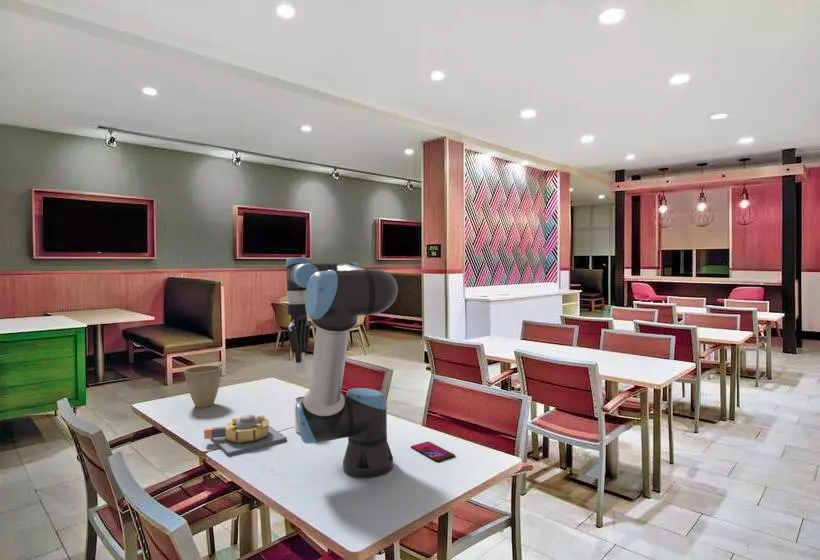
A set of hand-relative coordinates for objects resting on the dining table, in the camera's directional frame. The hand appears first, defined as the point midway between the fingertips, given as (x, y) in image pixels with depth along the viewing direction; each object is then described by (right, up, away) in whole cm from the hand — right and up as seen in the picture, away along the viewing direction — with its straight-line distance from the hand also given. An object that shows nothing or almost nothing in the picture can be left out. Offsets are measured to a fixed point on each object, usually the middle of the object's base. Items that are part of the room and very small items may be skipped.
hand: (300, 371), depth 168 cm
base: (-19, -25, +4) cm, 31 cm away
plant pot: (-52, -23, +45) cm, 73 cm away
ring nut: (-23, -23, +3) cm, 32 cm away
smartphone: (+45, -25, -10) cm, 52 cm away
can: (-1, -24, +11) cm, 27 cm away
